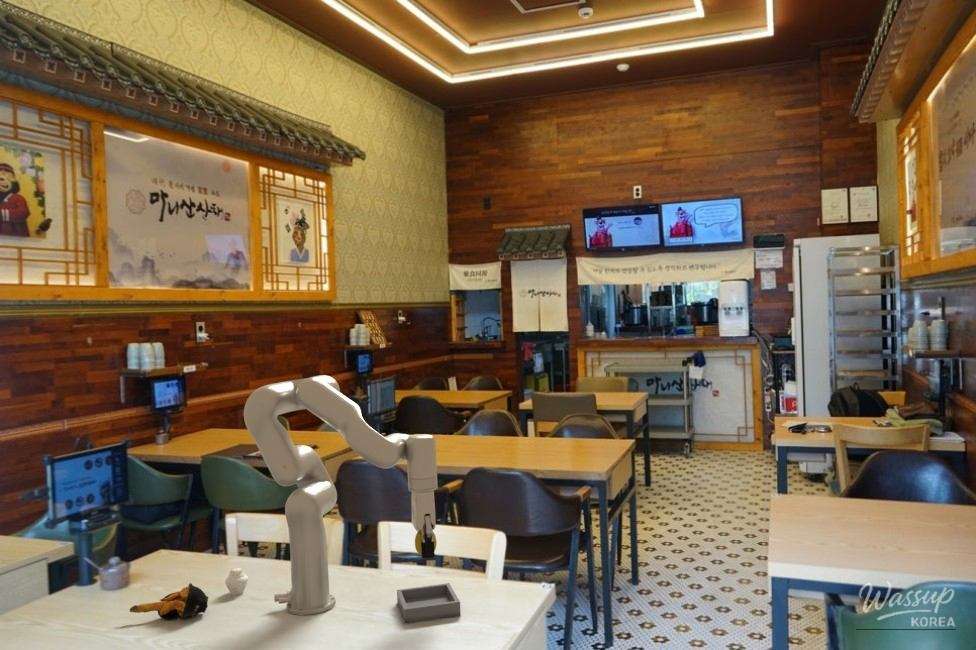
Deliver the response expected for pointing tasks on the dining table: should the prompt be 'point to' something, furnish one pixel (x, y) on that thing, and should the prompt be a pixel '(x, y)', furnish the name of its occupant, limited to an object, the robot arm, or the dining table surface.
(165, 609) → the fried shrimp in bowl
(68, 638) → the dining table surface
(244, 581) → the white vase
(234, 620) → the dining table surface
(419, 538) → the lemon
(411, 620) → the tray
